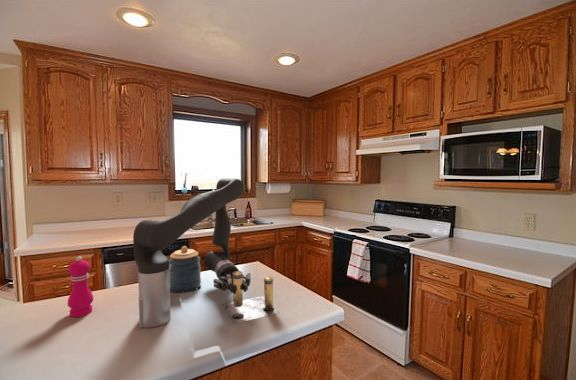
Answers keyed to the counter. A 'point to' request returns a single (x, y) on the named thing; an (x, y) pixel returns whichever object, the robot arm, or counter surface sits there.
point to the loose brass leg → (238, 289)
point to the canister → (184, 270)
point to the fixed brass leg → (268, 293)
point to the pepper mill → (80, 289)
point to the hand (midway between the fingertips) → (240, 289)
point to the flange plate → (248, 310)
